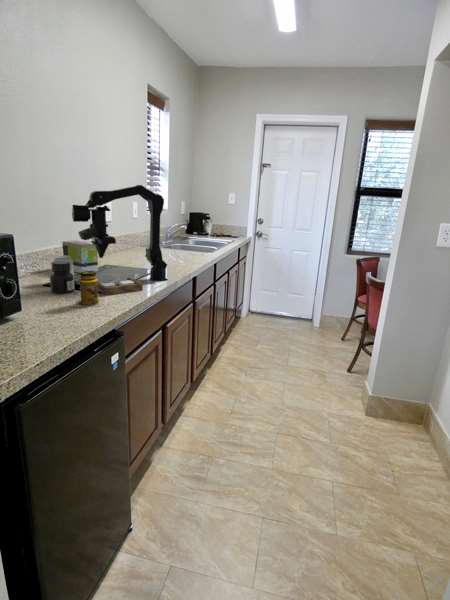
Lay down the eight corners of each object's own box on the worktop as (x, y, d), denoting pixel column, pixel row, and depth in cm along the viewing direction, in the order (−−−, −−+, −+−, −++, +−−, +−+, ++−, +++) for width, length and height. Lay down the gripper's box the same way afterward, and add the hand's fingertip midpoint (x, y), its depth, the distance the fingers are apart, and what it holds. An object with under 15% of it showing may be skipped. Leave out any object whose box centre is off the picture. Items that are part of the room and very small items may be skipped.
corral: (129, 284, 159) (129, 277, 158) (142, 290, 150) (142, 283, 150) (94, 288, 149) (94, 281, 148) (106, 295, 140) (106, 288, 139)
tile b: (111, 289, 151) (111, 282, 150) (116, 291, 147) (116, 284, 146) (100, 290, 148) (99, 283, 147) (104, 293, 144) (104, 286, 143)
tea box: (99, 271, 181) (97, 242, 177) (82, 274, 173) (80, 244, 168) (80, 267, 188) (78, 239, 184) (63, 269, 180) (61, 240, 176)
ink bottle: (75, 293, 140) (73, 264, 137) (51, 295, 137) (48, 265, 133) (74, 287, 149) (72, 259, 145) (50, 289, 145) (48, 260, 141)
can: (67, 285, 151) (65, 258, 147) (52, 284, 152) (49, 256, 149) (77, 282, 158) (76, 255, 155) (63, 280, 159) (60, 254, 156)
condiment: (98, 306, 127) (96, 274, 123) (73, 307, 125) (71, 274, 121) (100, 300, 133) (99, 270, 130) (76, 301, 131) (74, 269, 128)
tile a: (130, 286, 156) (130, 280, 155) (134, 289, 152) (134, 282, 152) (119, 287, 153) (119, 281, 152) (123, 290, 149) (123, 283, 149)
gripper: (71, 220, 151) (74, 256, 156) (88, 224, 138) (91, 263, 143) (97, 219, 158) (99, 254, 163) (115, 223, 145) (117, 260, 150)
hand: (101, 257), depth 154 cm, fingers closed
